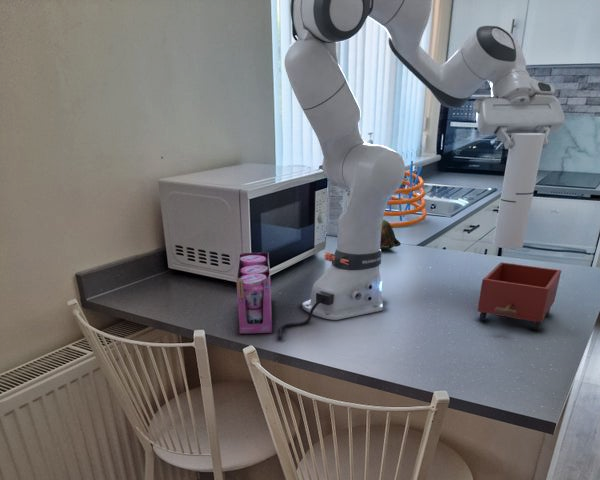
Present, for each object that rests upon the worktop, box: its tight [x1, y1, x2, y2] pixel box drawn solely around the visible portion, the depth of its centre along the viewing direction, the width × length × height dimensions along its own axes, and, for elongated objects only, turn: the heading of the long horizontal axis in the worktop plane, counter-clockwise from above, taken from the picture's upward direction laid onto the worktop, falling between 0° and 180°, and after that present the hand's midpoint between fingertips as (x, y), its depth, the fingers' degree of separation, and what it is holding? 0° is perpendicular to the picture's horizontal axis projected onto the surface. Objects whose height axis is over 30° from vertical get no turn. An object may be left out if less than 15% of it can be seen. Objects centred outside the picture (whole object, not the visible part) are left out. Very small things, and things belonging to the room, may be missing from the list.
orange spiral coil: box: [383, 160, 428, 228], centre depth 232 cm, size 34×35×24 cm
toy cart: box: [477, 262, 562, 332], centre depth 129 cm, size 22×15×11 cm, turn 148°
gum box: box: [236, 251, 273, 334], centre depth 133 cm, size 24×8×14 cm, turn 3°
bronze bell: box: [380, 218, 402, 251], centre depth 190 cm, size 17×11×18 cm
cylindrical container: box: [492, 133, 545, 250], centre depth 128 cm, size 7×7×25 cm
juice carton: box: [318, 164, 350, 237], centre depth 209 cm, size 9×10×27 cm
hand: (527, 146), depth 122 cm, fingers closed on cylindrical container, 7 cm apart
